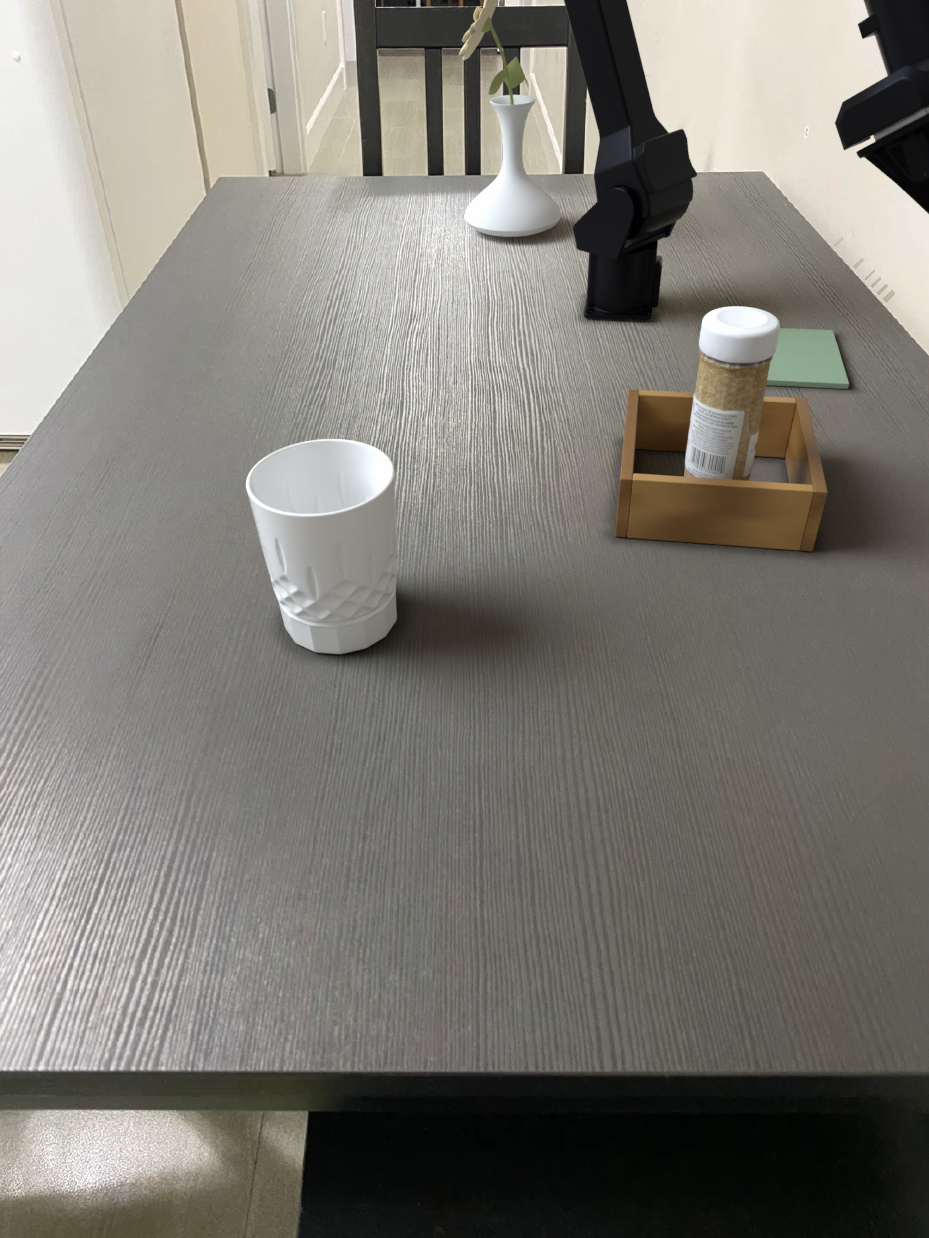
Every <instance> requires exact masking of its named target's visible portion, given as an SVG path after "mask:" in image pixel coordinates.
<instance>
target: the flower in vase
mask: <svg viewBox="0 0 929 1238" xmlns="http://www.w3.org/2000/svg"><path fill="white" fill-rule="evenodd" d="M498 2H499V0H484V1H483V6H482V7H481V6H478V5H477V6H476V8H475V10H474V12H473V14H472V16H473V21H474V22H473V23H471V25H470V27H469V28H468V30H467V31H466V32H465V33H464V34H463V37H462V39H461V42H462V43H464V44H463V45H462V47H461V49H460V51H459V53H458V56H459V57H460V56H462V55H463V57H462V61H466V60H467V59H469V58H470V57H471V56H472V54H473V53H474V52H475V50H476V48H477V47H478V45H479V44H480V42H482V41H481V40H482V39H483V37H484V36H485V35H484V34H486V33H488V32H489V31H490V32H491V35H492V37H493V39H494V41H495V44H496V46H497V49H498V51H499V54H500V57H501V59H502V64H503V69H501V70H500V71H498V73H497V74H496V75H494V77H493V79H492V80H491V83H490V85H489V88H488V91H487V95H489V96H493V95H495V94H497V93H498V91H499V90H500V88H501V86H502V84H503V82H504V83H505V85H506V86H507V88H508V93H509V94H506V95H505V94H504V95H498V96H494V97H492V98H490V99H489V103H490V105H491V107H492V108H493V109H494V111H495V113H496V115H497V117H498V118H497V119H498V121H499V126H500V131H501V132H500V133H501V142H502V163H501V167H500V171H499V173H498V175H497V176H496V177H495V179H494V180H493V181H492V182H491V183H489V185H488V186H486V187H485V188H484V189H483V190H482V191H481V192H480V193H479V194H478V195H476V196H475V197H474V199H472V201H471V202H470V203H469V204H468V206H467V207H466V209H465V212H464V215H463V218H464V219H463V220H464V221H465V222H466V224H467V225H468V226H469V227H470V228H471V229H472V230H474V231H477V232H479V233H482V234H484V235H489V236H493V237H501V238H503V237H504V238H516V237H517V238H518V237H527V236H533V235H537V234H540V233H543V232H545V231H548V230H550V229H552V228H553V227H555V226H556V225H557V224H558V222H559V221H560V219H561V217H562V212H561V208H560V206H559V205H558V203H557V202H556V201H555V200H554V199H553V197H552V196H551V195H550V194H548V193H547V192H546V190H544V189H543V188H542V187H540V186H539V185H538V184H537V183H536V182H535V181H533V180H532V178H530V176H529V175H528V174H527V172H526V169H525V166H524V160H523V159H524V158H523V147H524V145H523V144H524V133H525V128H526V123H527V119H528V115H529V113H530V111H531V109H532V107H533V105H534V104H535V103H536V100H537V99H536V98H535V97H534V96H531V95H525V94H513V89H514V88H517V87H518V86H519V85H521V84H522V83H523V82H524V81H525V80H526V76H525V72H524V71H523V68H522V65H521V63H520V60H519V57H518V56H515V57H513V59H512V60H511V61H510V62H509V63H508V64H507V59H506V56H505V52H504V50H503V47H502V44H501V42H500V40H499V37H498V34H497V32H496V30H495V28H494V27H493V22H492V19H493V18H492V17H493V15H494V12H495V10H496V8H497V4H498Z"/></svg>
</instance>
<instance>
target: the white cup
mask: <svg viewBox="0 0 929 1238" xmlns="http://www.w3.org/2000/svg"><path fill="white" fill-rule="evenodd" d="M395 474H396V473H395V465H394V463H393V461H392V459H391V458H390V457H389V456H388V455H387V454H386V453H385V452H384V451H383V450H381V449H380V448H377V447H376V446H373V445H371V444H368V443H365V442H361V441H358V440H352V439H344V438H320V439H312V440H306V441H301V442H297V443H292V444H290V445H287V446H284V447H282V448H278V449H276V450H274V451H273V452H271V453H269V454H267V455H265V456H264V457H263V458H262V459H260V460H259V461H258V462H256V463H255V465H253V467H252V468H251V469H250V471H249V472H248V475H247V476H246V480H245V489H246V493H247V497H248V500H249V504H250V507H251V512H252V515H253V519H254V524H255V526H256V531H257V534H258V539H259V543H260V546H261V550H262V554H263V558H264V562H265V565H266V568H267V571H268V573H269V577H270V581H271V585H272V588H273V592H274V595H275V598H276V599H277V601H278V605H279V609H280V613H281V617H282V621H283V625H284V629H285V630H286V631H287V633H288V634H289V636H290V637H291V639H292V640H293V641H294V643H295V644H296V645H298V646H301V647H303V648H305V649H307V650H310V651H312V652H314V653H317V654H331V655H344V654H348V653H353V652H357V651H361V650H365V649H368V648H369V647H371V646H372V645H374V644H376V643H378V642H379V641H380V640H383V639H384V638H386V637H387V636H388V634H389V632H390V631H391V629H392V628H393V626H394V625H395V624H396V622H397V620H398V613H397V593H396V591H397V581H398V578H399V575H398V556H399V555H398V535H397V505H396V504H397V503H396V501H397V500H396V476H395Z"/></svg>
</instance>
